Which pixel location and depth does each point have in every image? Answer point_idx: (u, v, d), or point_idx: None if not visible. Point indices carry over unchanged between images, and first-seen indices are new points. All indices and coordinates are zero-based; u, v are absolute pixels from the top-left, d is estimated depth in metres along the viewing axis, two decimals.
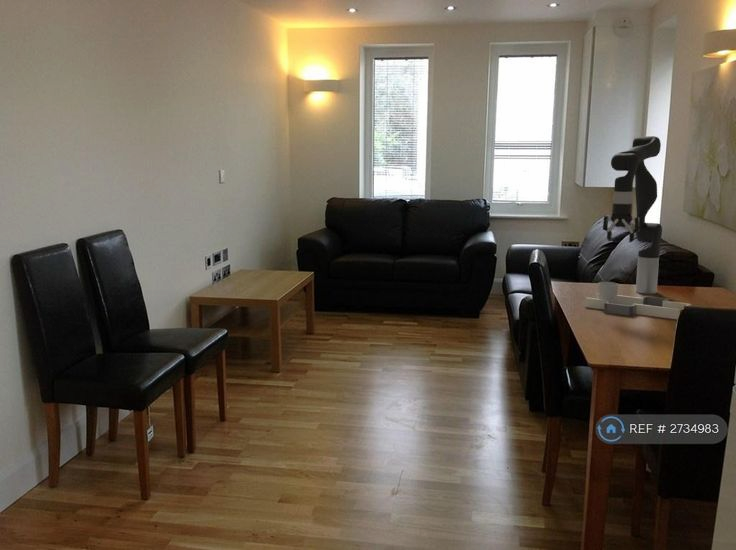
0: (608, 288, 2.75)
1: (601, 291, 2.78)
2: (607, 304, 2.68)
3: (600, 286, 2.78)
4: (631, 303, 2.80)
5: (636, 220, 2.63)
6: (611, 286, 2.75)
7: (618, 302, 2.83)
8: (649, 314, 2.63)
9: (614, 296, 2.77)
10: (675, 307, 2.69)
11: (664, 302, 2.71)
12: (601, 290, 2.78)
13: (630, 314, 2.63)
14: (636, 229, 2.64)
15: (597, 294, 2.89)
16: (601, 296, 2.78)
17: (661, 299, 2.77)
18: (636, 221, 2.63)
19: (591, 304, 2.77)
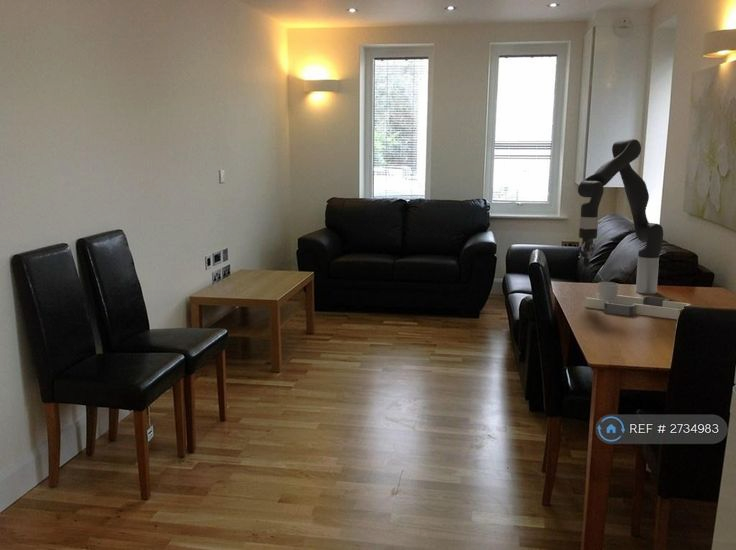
0: (608, 288, 2.75)
1: (601, 291, 2.78)
2: (607, 304, 2.68)
3: (600, 286, 2.78)
4: (631, 303, 2.80)
5: (594, 246, 2.86)
6: (611, 286, 2.75)
7: (618, 302, 2.83)
8: (649, 314, 2.63)
9: (614, 296, 2.77)
10: (675, 307, 2.69)
11: (664, 302, 2.71)
12: (601, 290, 2.78)
13: (630, 314, 2.63)
14: (591, 253, 2.84)
15: (597, 294, 2.89)
16: (601, 296, 2.78)
17: (661, 299, 2.77)
18: (593, 247, 2.86)
19: (591, 304, 2.77)
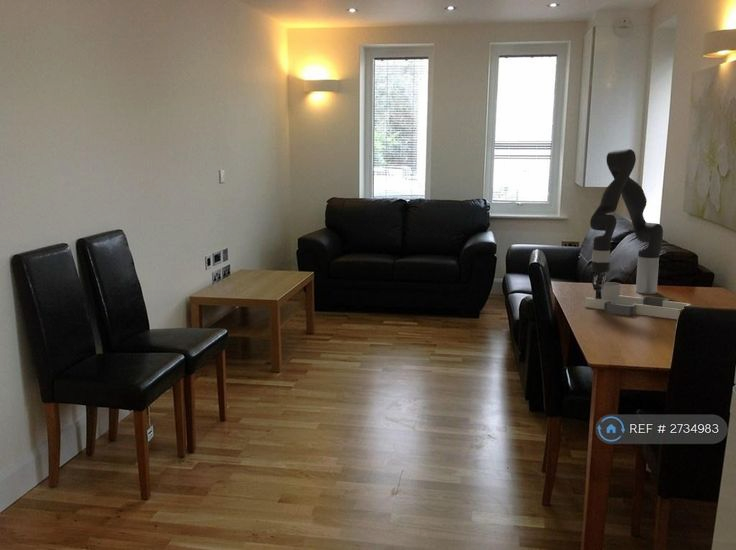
0: (611, 288, 2.75)
1: (604, 291, 2.77)
2: (607, 304, 2.68)
3: (603, 286, 2.77)
4: (631, 303, 2.80)
5: (606, 279, 2.84)
6: (614, 286, 2.74)
7: (618, 302, 2.83)
8: (649, 314, 2.63)
9: (617, 296, 2.76)
10: (675, 307, 2.69)
11: (664, 302, 2.71)
12: (604, 290, 2.77)
13: (630, 314, 2.63)
14: None
15: None
16: (604, 296, 2.78)
17: (661, 299, 2.77)
18: (606, 280, 2.84)
19: (591, 304, 2.77)
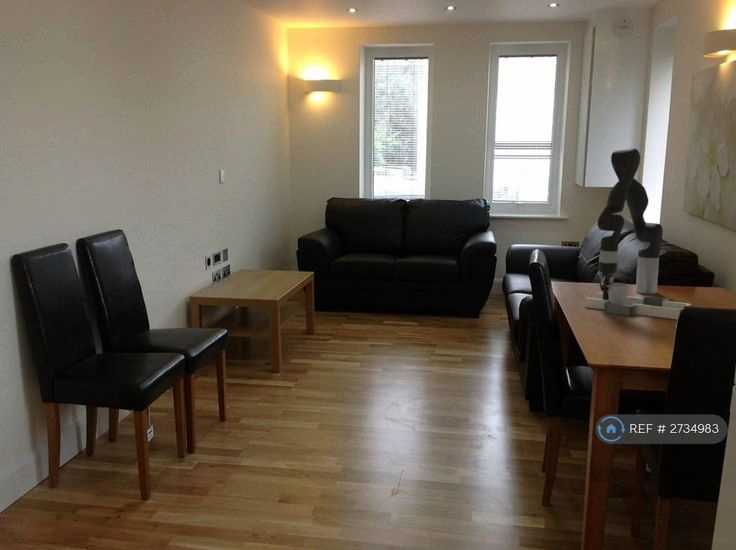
0: (619, 289, 2.73)
1: (611, 292, 2.75)
2: (607, 304, 2.68)
3: (610, 287, 2.75)
4: (631, 303, 2.80)
5: (613, 280, 2.82)
6: (622, 287, 2.73)
7: None
8: (649, 314, 2.63)
9: (625, 297, 2.74)
10: (675, 307, 2.69)
11: (664, 302, 2.71)
12: (612, 291, 2.75)
13: (630, 314, 2.63)
14: None
15: (597, 294, 2.89)
16: (611, 297, 2.76)
17: (661, 299, 2.77)
18: (613, 280, 2.82)
19: (591, 304, 2.77)
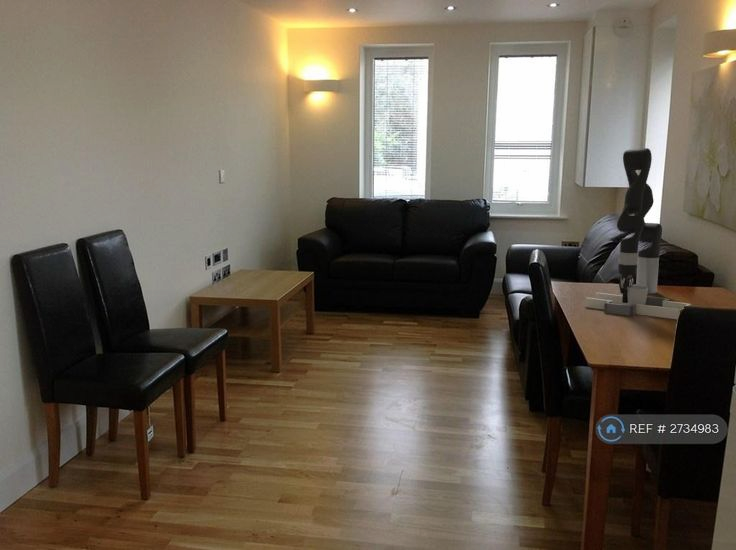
0: (637, 292, 2.68)
1: (629, 294, 2.70)
2: (607, 304, 2.68)
3: (628, 289, 2.70)
4: None
5: (633, 282, 2.77)
6: (639, 290, 2.67)
7: (618, 302, 2.83)
8: (649, 314, 2.63)
9: (643, 300, 2.68)
10: (675, 307, 2.69)
11: (664, 302, 2.71)
12: (629, 293, 2.70)
13: (630, 314, 2.63)
14: None
15: (597, 294, 2.89)
16: (629, 300, 2.71)
17: (661, 299, 2.77)
18: (632, 283, 2.77)
19: (591, 304, 2.77)
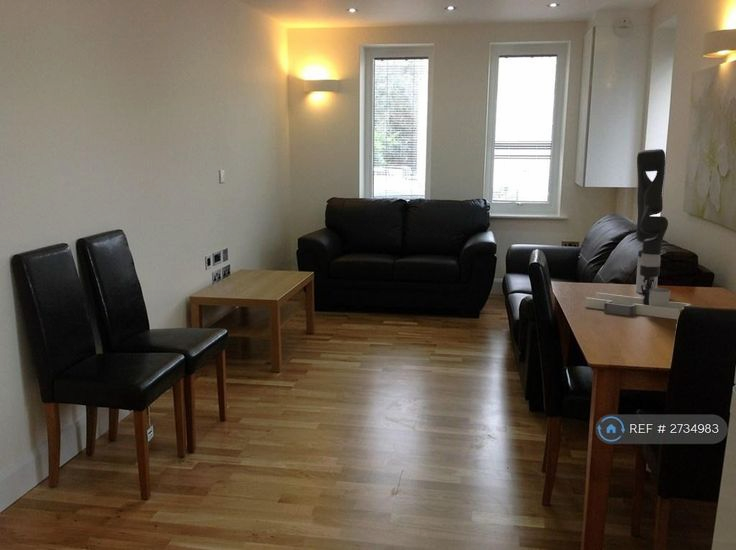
0: (657, 295, 2.62)
1: (650, 296, 2.65)
2: (607, 304, 2.68)
3: (649, 291, 2.65)
4: (631, 303, 2.80)
5: (654, 284, 2.72)
6: (660, 293, 2.61)
7: (618, 302, 2.83)
8: (649, 314, 2.63)
9: (663, 303, 2.62)
10: (675, 307, 2.69)
11: None
12: (650, 296, 2.65)
13: (630, 314, 2.63)
14: None
15: (597, 294, 2.89)
16: (650, 302, 2.65)
17: None
18: (654, 285, 2.72)
19: (591, 304, 2.77)
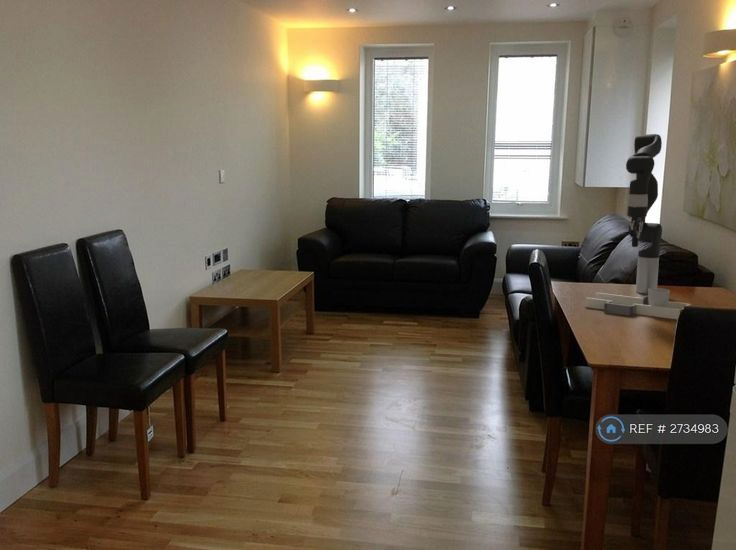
0: (656, 295, 2.62)
1: (649, 297, 2.65)
2: (607, 304, 2.68)
3: (649, 292, 2.65)
4: (631, 303, 2.80)
5: (642, 226, 2.72)
6: (659, 293, 2.61)
7: (618, 302, 2.83)
8: (649, 314, 2.63)
9: (663, 303, 2.62)
10: (675, 307, 2.69)
11: None
12: (649, 296, 2.65)
13: (630, 314, 2.63)
14: (640, 233, 2.71)
15: (597, 294, 2.89)
16: (649, 302, 2.65)
17: None
18: (642, 226, 2.72)
19: (591, 304, 2.77)
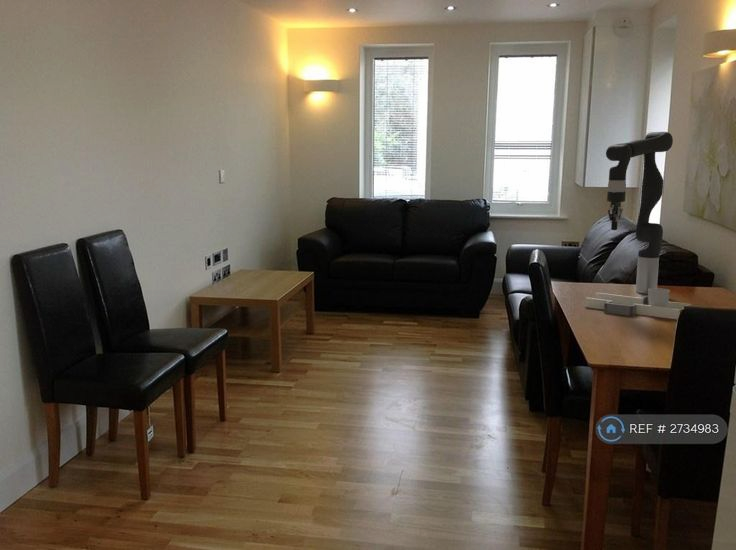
0: (656, 294, 2.62)
1: (649, 297, 2.65)
2: (607, 304, 2.68)
3: (648, 292, 2.65)
4: (631, 303, 2.80)
5: (621, 210, 2.89)
6: (659, 292, 2.61)
7: (618, 302, 2.83)
8: (649, 314, 2.63)
9: (663, 303, 2.62)
10: (675, 307, 2.69)
11: None
12: (649, 296, 2.65)
13: (630, 314, 2.63)
14: (619, 217, 2.87)
15: (597, 294, 2.89)
16: (649, 302, 2.65)
17: None
18: (621, 211, 2.89)
19: (591, 304, 2.77)
